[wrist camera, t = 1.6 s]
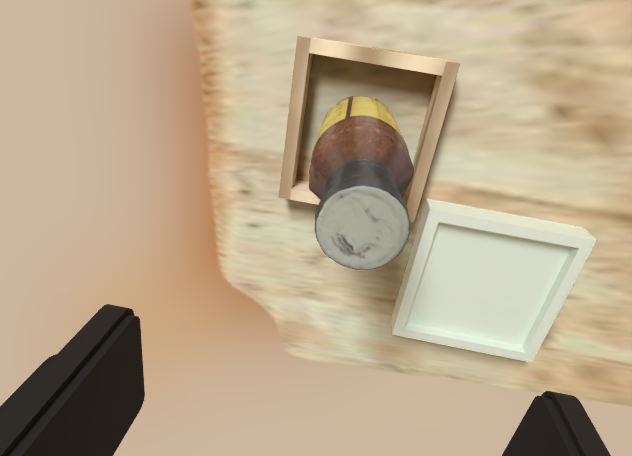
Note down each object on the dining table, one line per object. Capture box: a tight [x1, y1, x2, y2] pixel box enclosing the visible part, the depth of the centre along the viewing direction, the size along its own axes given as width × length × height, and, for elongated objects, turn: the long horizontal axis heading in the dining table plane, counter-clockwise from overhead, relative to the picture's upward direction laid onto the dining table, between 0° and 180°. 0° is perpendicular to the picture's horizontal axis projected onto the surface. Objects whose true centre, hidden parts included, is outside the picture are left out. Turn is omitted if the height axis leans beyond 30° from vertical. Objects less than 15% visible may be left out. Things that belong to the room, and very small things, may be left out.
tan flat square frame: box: [279, 36, 460, 223], centre depth 34 cm, size 12×13×2 cm
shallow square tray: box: [391, 199, 597, 363], centre depth 38 cm, size 14×14×2 cm
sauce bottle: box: [309, 96, 414, 270], centre depth 26 cm, size 7×6×20 cm
